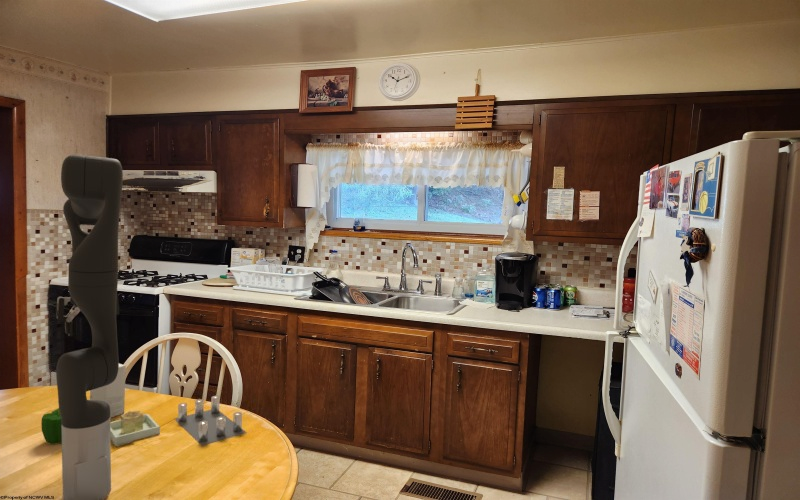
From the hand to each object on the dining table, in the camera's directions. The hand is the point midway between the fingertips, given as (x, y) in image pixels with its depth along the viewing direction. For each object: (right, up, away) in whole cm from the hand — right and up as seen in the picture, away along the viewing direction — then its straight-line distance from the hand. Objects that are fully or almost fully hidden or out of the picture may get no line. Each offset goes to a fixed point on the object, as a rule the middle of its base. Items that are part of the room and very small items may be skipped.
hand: (89, 333), depth 135 cm
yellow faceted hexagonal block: (+7, -29, +8) cm, 31 cm away
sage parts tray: (+8, -30, +8) cm, 32 cm away
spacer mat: (+27, -30, +14) cm, 43 cm away
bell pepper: (-9, -30, +2) cm, 31 cm away
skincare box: (-7, -29, +20) cm, 36 cm away
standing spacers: (+27, -30, +14) cm, 43 cm away
